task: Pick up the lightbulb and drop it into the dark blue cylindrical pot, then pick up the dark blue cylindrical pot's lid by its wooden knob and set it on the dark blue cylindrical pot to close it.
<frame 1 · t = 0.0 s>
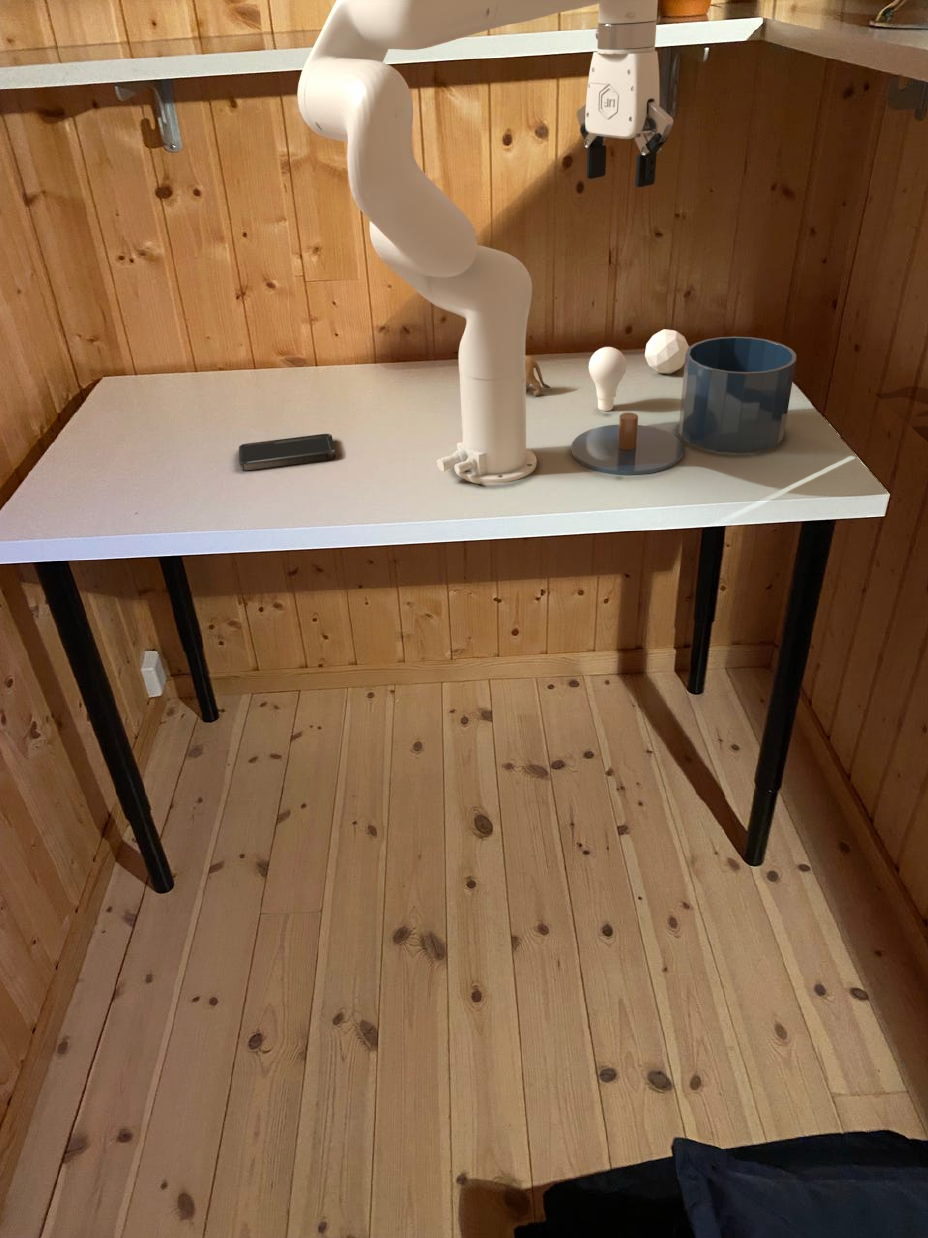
hand: (619, 181, 130), 37 cm above the table, tool pointing down, fingers open, 9 cm apart
phone: (287, 455, 147), on the table
lightbulb: (605, 412, 156), on the table
geometric ball: (665, 372, 170), on the table
dark blue cylindrical pot: (730, 434, 146), on the table
lid: (626, 450, 142), point 1 cm above the table
lion figurine: (506, 394, 165), on the table
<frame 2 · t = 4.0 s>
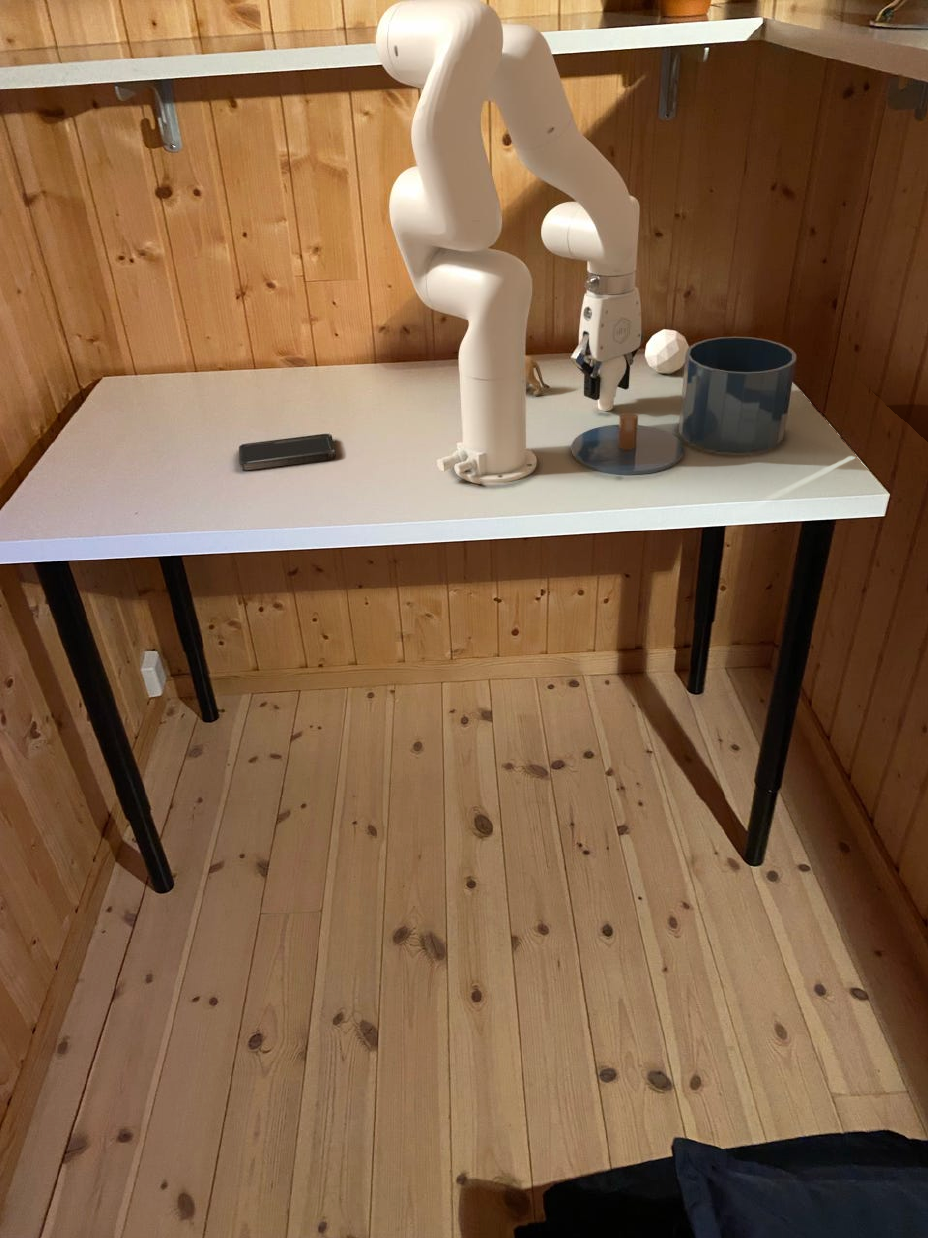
hand: (606, 391, 154), 4 cm above the table, tool pointing down, fingers closed on lightbulb, 6 cm apart
lightbulb: (605, 412, 156), on the table, touching gripper
everything else where it was.
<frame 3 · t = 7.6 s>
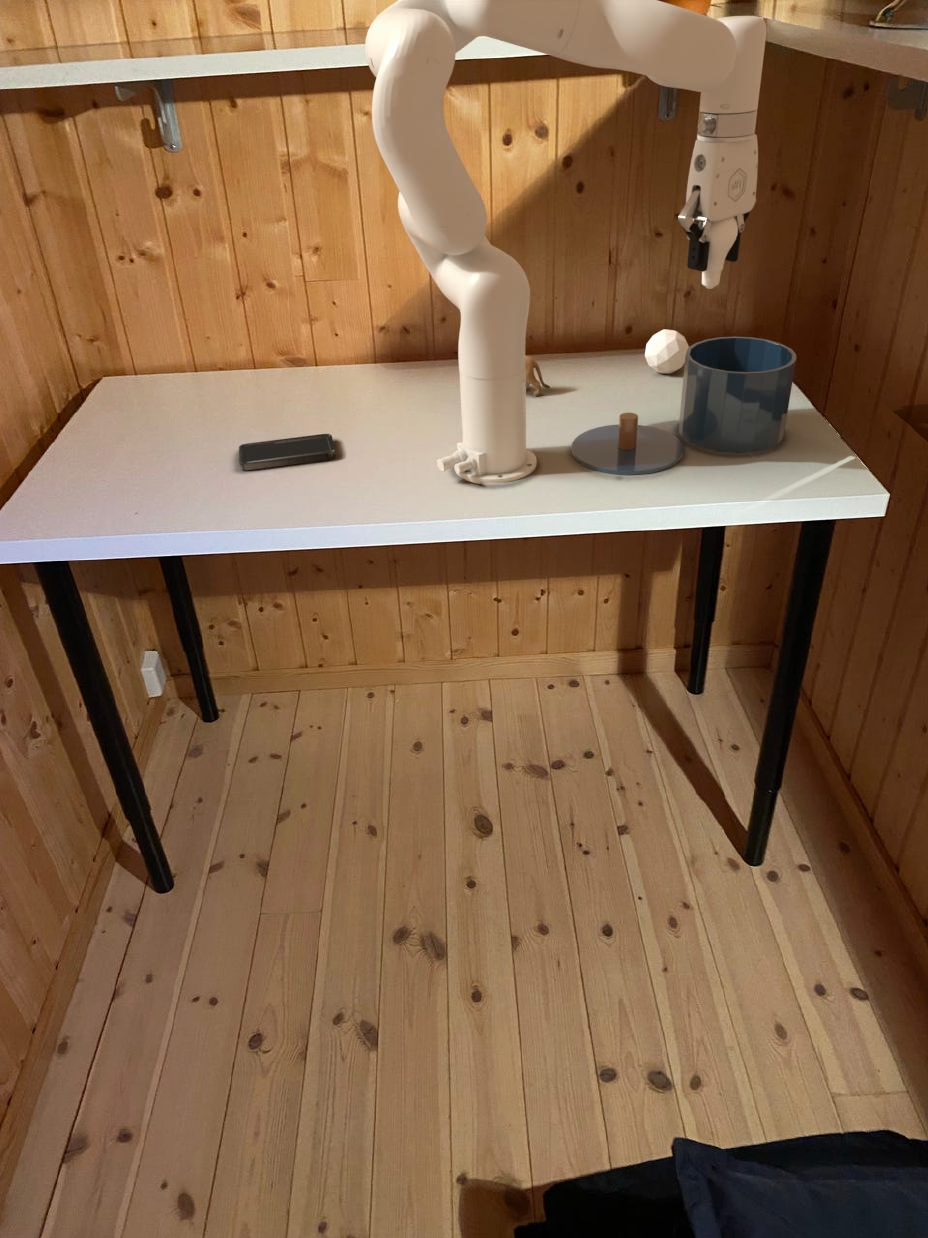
hand: (712, 263, 134), 26 cm above the table, tool pointing down, fingers closed on lightbulb, 6 cm apart
lightbulb: (709, 289, 136), point 22 cm above the table, touching gripper
everything else where it was.
when the fingers open (14 cm above the table, at t = 11.1 s): lightbulb drops 9 cm, resting on dark blue cylindrical pot.
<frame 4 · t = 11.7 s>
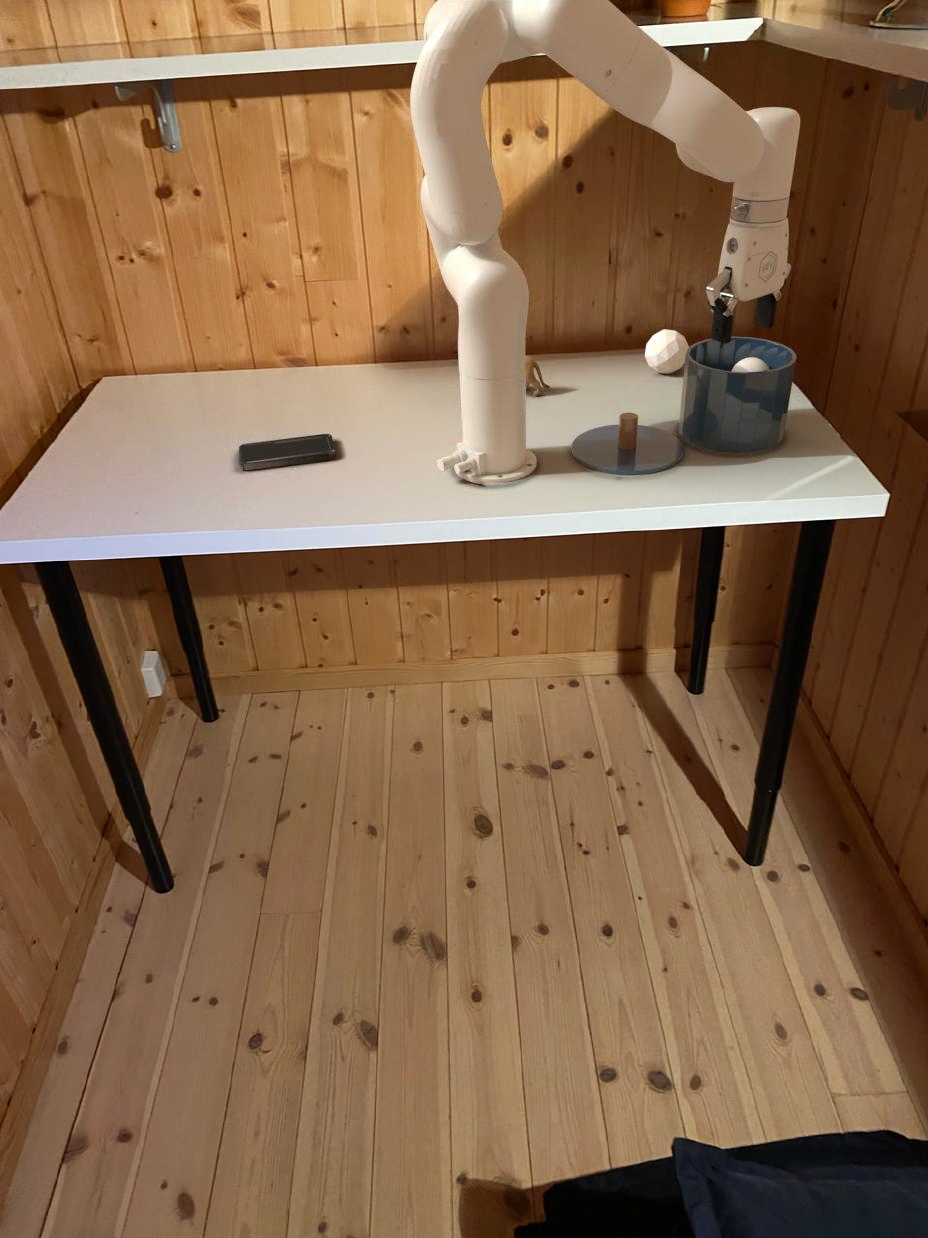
hand: (742, 333, 137), 16 cm above the table, tool pointing down, fingers open, 9 cm apart
lightbulb: (731, 428, 146), point 1 cm above the table, touching dark blue cylindrical pot
everything else where it was.
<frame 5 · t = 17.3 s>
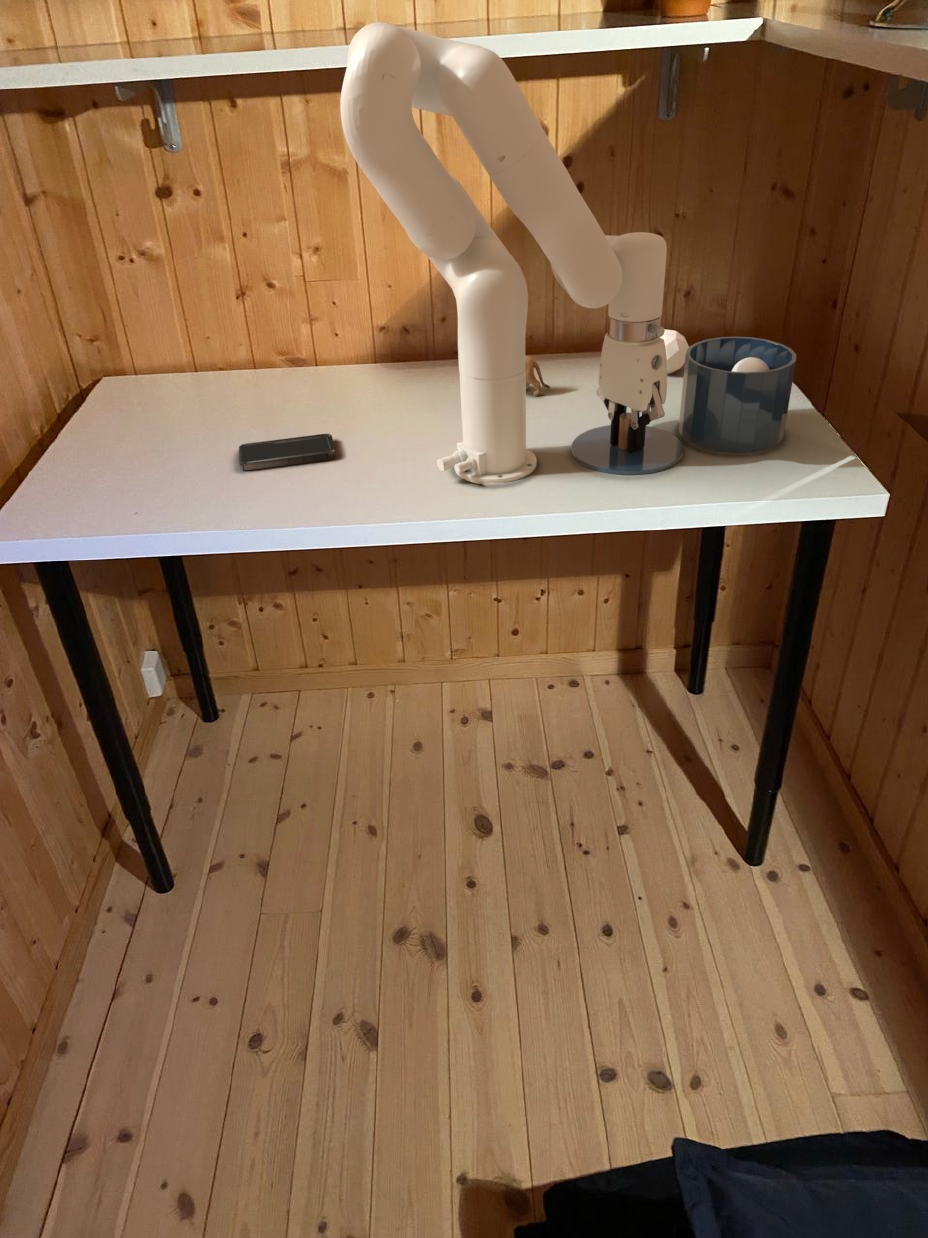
hand: (627, 445, 141), 1 cm above the table, tool pointing down, fingers closed on lid, 2 cm apart
lid: (626, 450, 142), point 1 cm above the table, touching gripper
everything else where it was.
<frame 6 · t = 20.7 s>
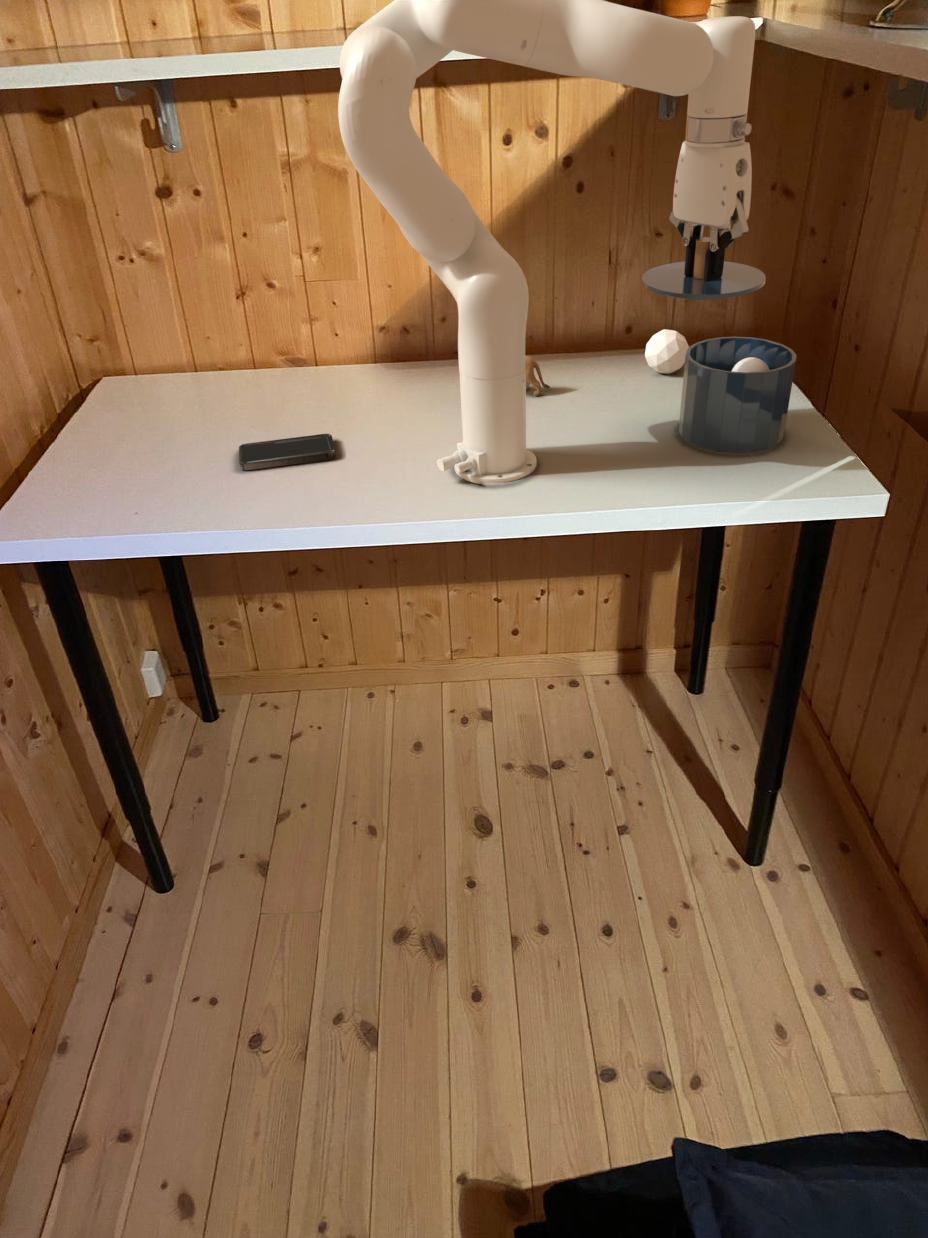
hand: (703, 275, 130), 26 cm above the table, tool pointing down, fingers closed on lid, 2 cm apart
lid: (702, 280, 130), point 25 cm above the table, touching gripper
everything else where it was.
when the fingers open (14 cm above the table, at t = 24.3 s): lid stays where it is, resting on dark blue cylindrical pot.
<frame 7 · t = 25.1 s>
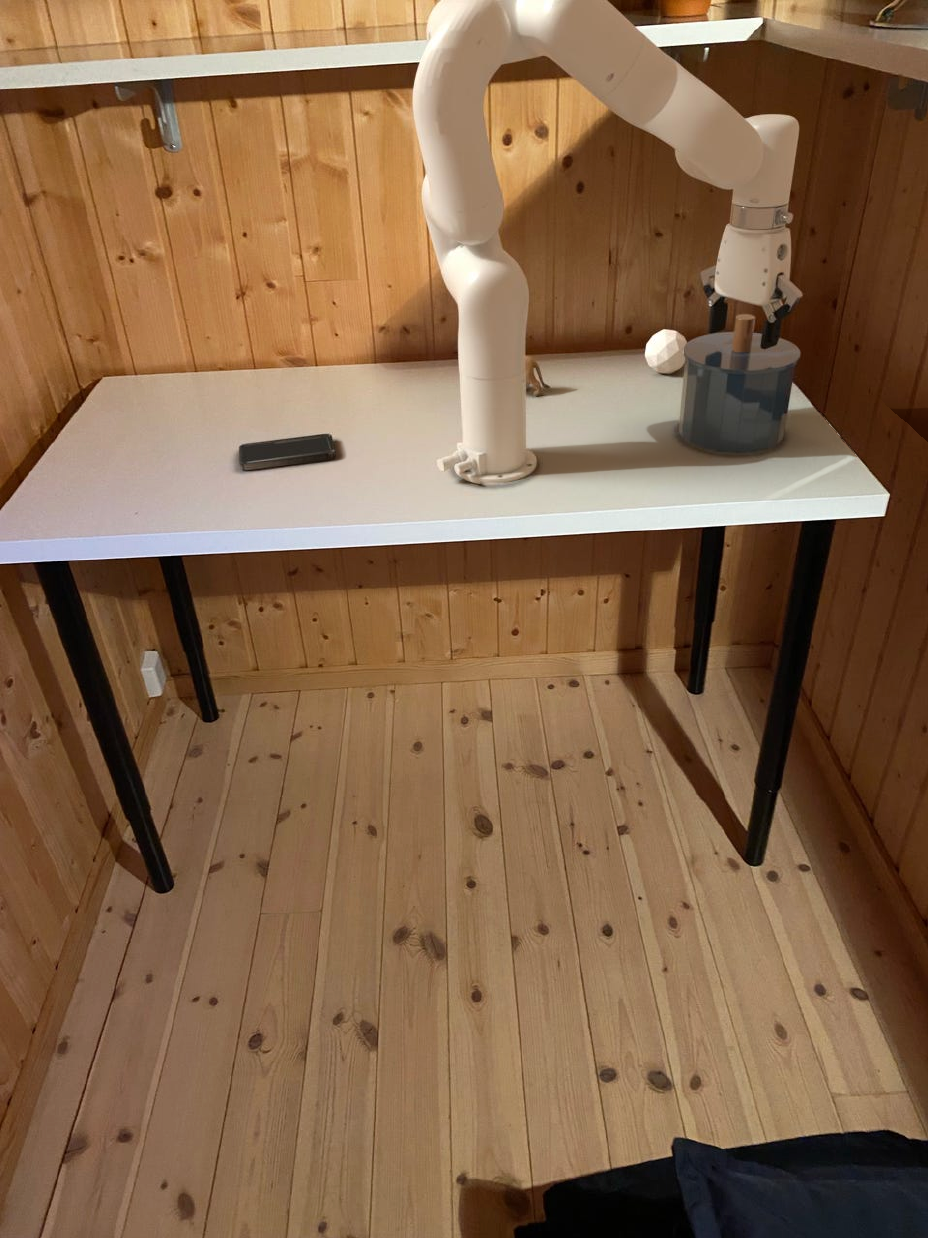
hand: (742, 338, 137), 15 cm above the table, tool pointing down, fingers open, 9 cm apart
lid: (740, 353, 138), point 13 cm above the table, touching dark blue cylindrical pot
everything else where it was.
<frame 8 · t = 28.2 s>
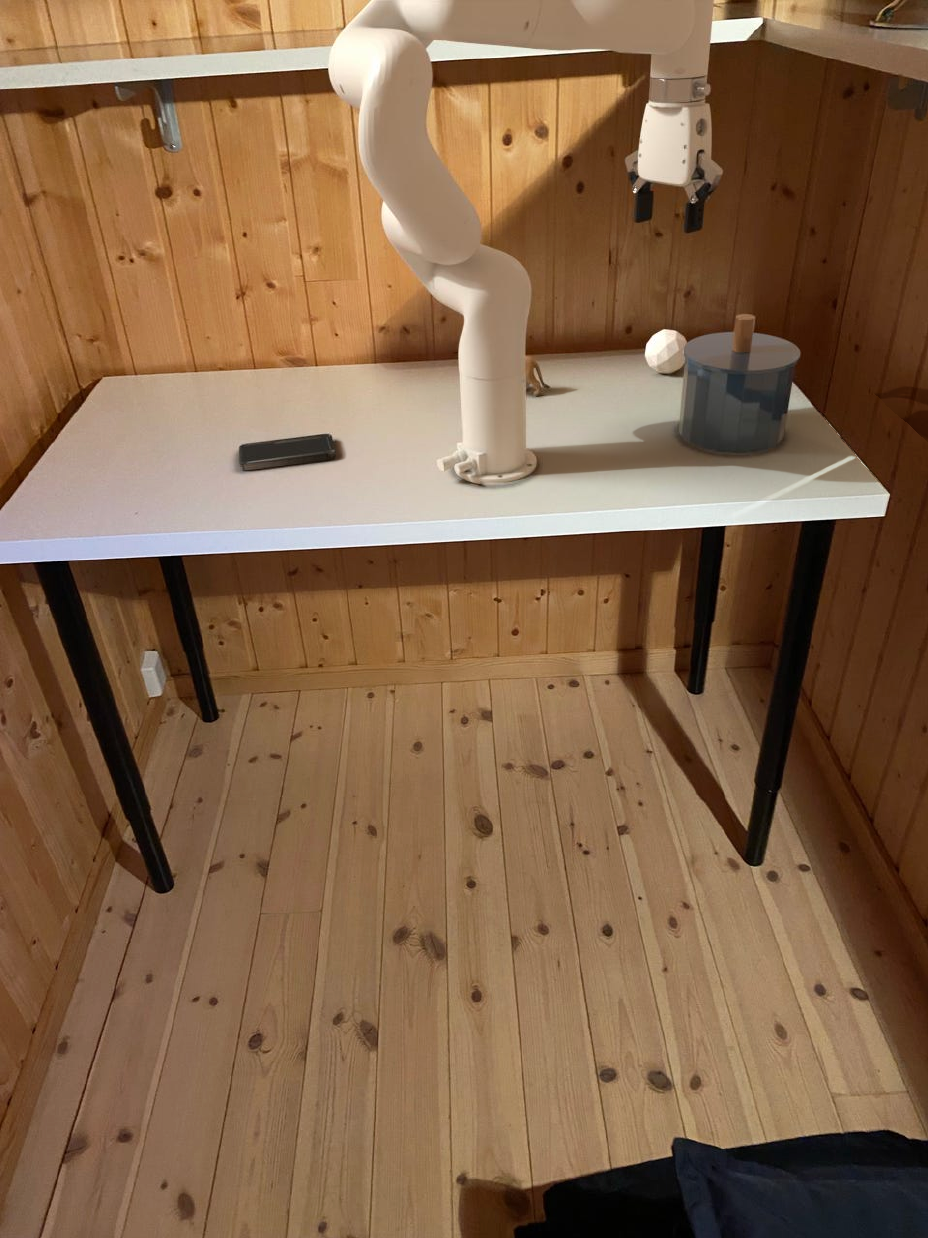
hand: (667, 225, 134), 30 cm above the table, tool pointing down, fingers open, 9 cm apart
nothing on the table moved.
at the end: lightbulb inside the target area in the dark blue cylindrical pot (0.3 cm from its centre), point 0.9 cm above the dark blue cylindrical pot's base; lid 0.0 cm off-centre on the dark blue cylindrical pot, point 13.0 cm above the dark blue cylindrical pot's base; lid tilted 0° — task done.
